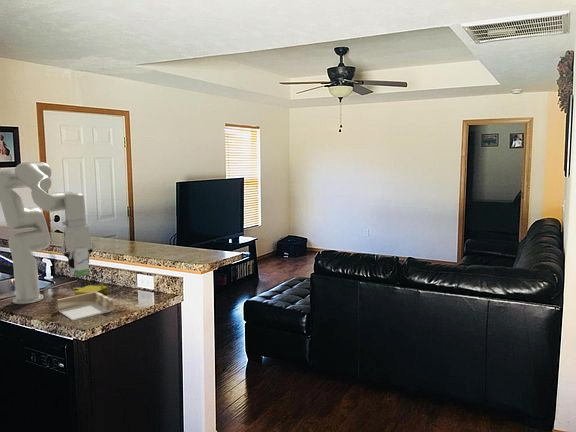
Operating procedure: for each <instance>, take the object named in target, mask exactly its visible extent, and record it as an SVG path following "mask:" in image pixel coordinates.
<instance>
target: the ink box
mask: <svg viewBox="0 0 576 432" xmlns="http://www.w3.org/2000/svg"><path fill="white" fill-rule="evenodd" d="M72 258H73V259H74V268H70V267H69V273H70V275H74V276H75V277H77V278H78V277H84V276H85V277H86V276H89V275H90V265H89V264H90V261H89V262H88V248H87V247H83V248H75V252H73V256H72Z"/></svg>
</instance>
